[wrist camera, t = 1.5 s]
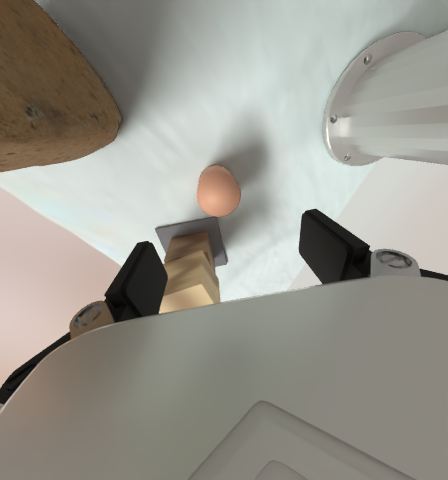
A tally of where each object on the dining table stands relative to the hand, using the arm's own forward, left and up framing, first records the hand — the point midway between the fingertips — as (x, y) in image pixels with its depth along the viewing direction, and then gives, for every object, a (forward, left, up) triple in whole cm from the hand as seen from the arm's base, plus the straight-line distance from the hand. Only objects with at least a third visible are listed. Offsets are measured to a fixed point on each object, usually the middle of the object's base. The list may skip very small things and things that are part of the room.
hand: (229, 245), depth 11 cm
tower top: (+6, +10, -10) cm, 15 cm away
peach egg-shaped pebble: (0, 0, -16) cm, 16 cm away
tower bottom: (+6, +10, -16) cm, 20 cm away
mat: (+6, +10, -16) cm, 20 cm away
